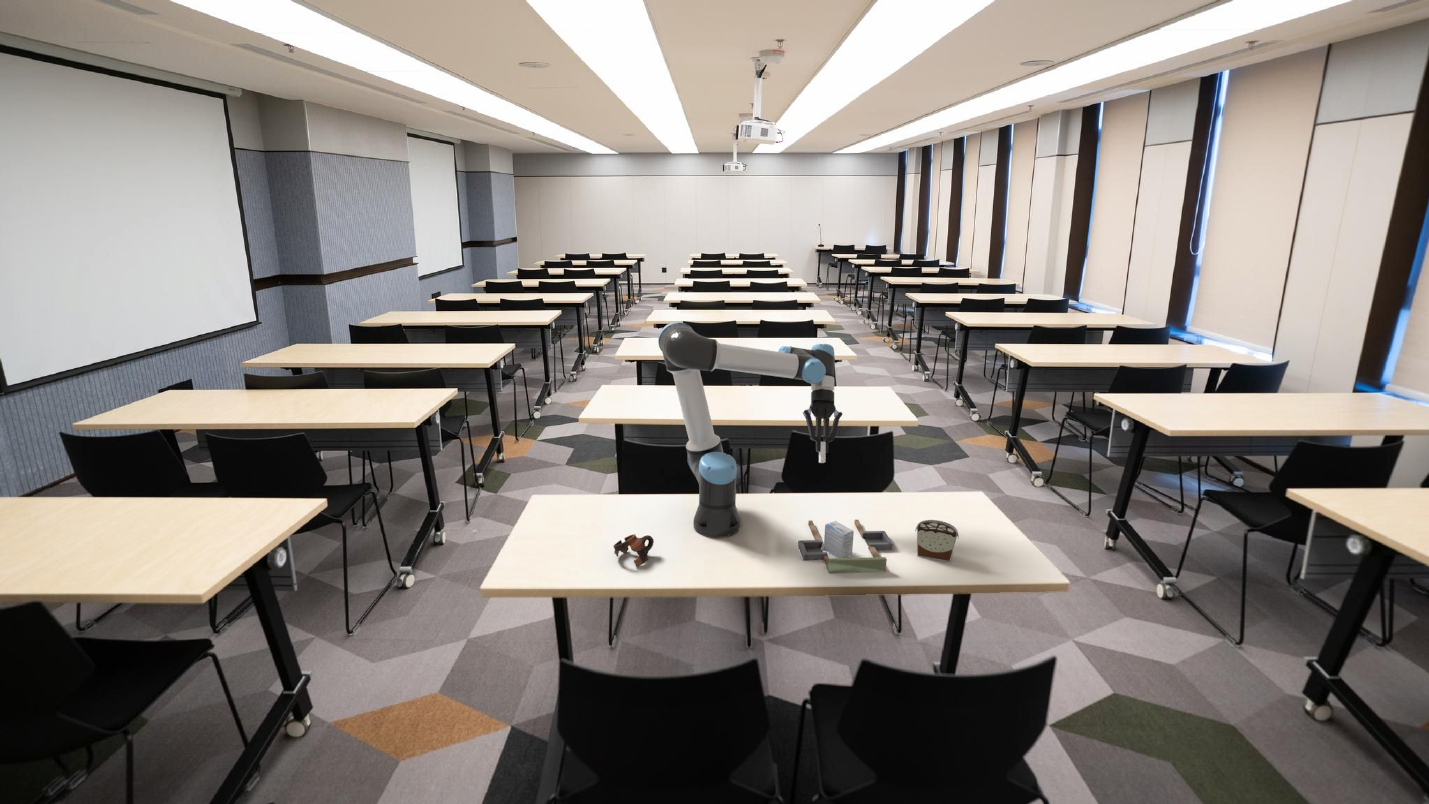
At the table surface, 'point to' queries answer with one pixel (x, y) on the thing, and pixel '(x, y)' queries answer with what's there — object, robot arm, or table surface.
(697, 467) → the robot arm
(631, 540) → the brown looped part
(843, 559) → the walnut lane
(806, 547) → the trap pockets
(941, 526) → the food container
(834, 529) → the medicine box
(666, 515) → the table surface
